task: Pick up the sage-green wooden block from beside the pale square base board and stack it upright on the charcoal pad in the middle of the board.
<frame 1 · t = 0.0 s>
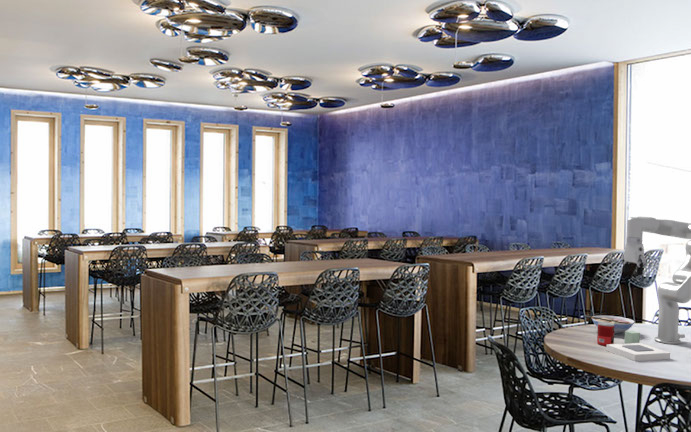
hand: (632, 273, 330), 37 cm above the table, tool pointing down, fingers open, 9 cm apart
canned food: (605, 344, 327), on the table
ramen bowl: (612, 332, 358), on the table
base board: (637, 354, 307), on the table
green block: (631, 345, 327), on the table
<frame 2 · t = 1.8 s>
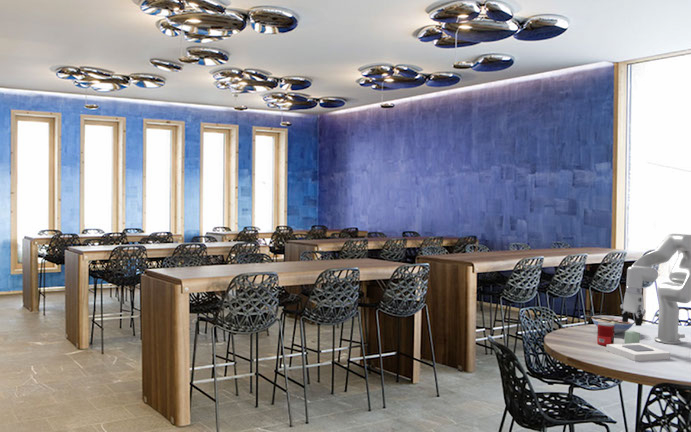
hand: (631, 323, 326), 11 cm above the table, tool pointing down, fingers open, 9 cm apart
nothing on the table moved.
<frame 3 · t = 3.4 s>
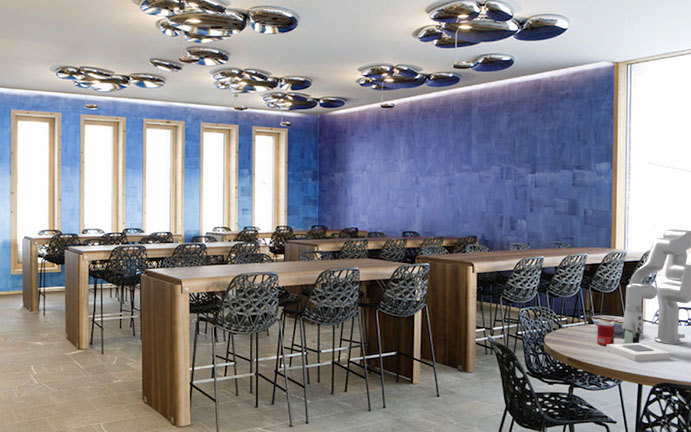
hand: (631, 343, 327), 1 cm above the table, tool pointing down, fingers closed on green block, 4 cm apart
green block: (631, 345, 327), on the table, touching gripper
everything else where it was.
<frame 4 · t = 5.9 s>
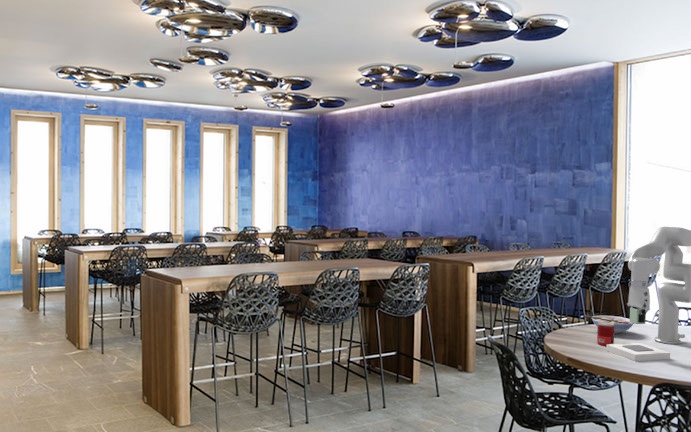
hand: (637, 320, 310), 16 cm above the table, tool pointing down, fingers closed on green block, 4 cm apart
green block: (637, 323, 310), point 15 cm above the table, touching gripper
everything else where it was.
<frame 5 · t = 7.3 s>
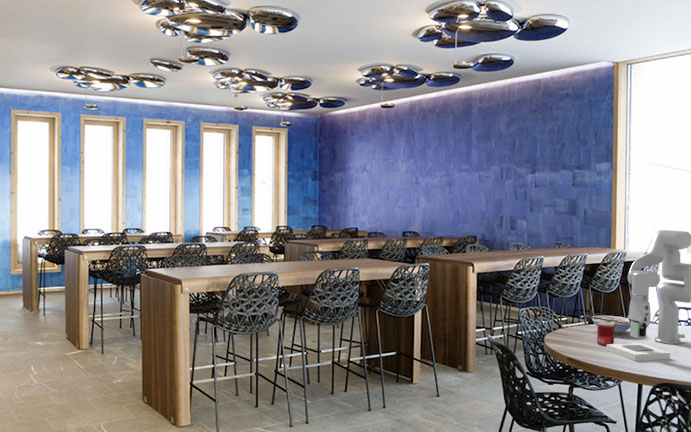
hand: (638, 334, 307), 10 cm above the table, tool pointing down, fingers closed on green block, 4 cm apart
green block: (637, 336, 307), point 9 cm above the table, touching gripper
everything else where it was.
when the fingers open (6 cm above the table, at t = 8.4 s): green block drops 1 cm, resting on base board.
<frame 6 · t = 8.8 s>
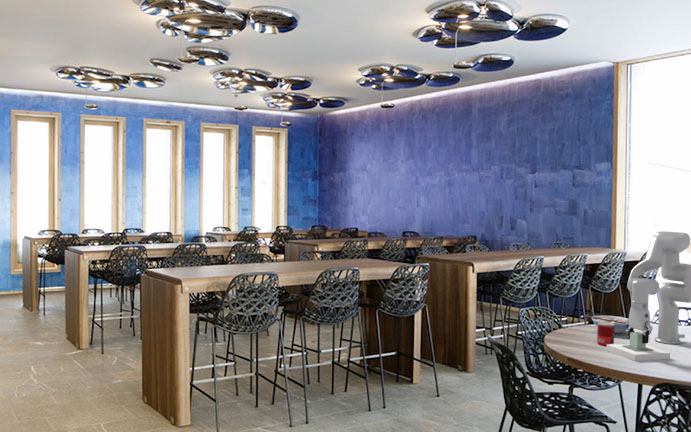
hand: (638, 340, 307), 7 cm above the table, tool pointing down, fingers open, 9 cm apart
green block: (637, 347, 307), point 3 cm above the table, touching base board
everything else where it was.
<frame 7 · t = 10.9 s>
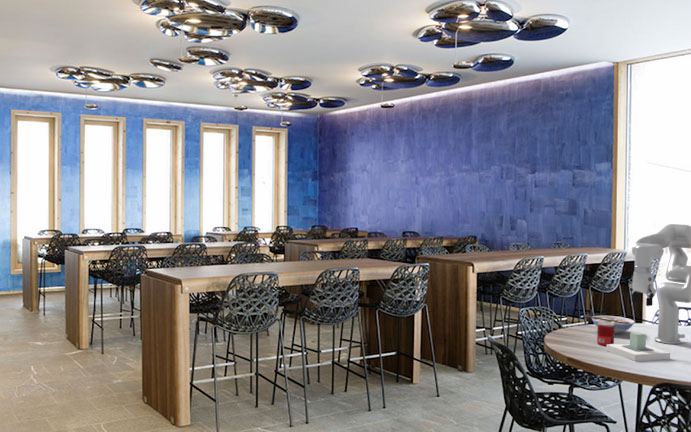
hand: (642, 303, 316), 23 cm above the table, tool pointing down, fingers open, 9 cm apart
nothing on the table moved.
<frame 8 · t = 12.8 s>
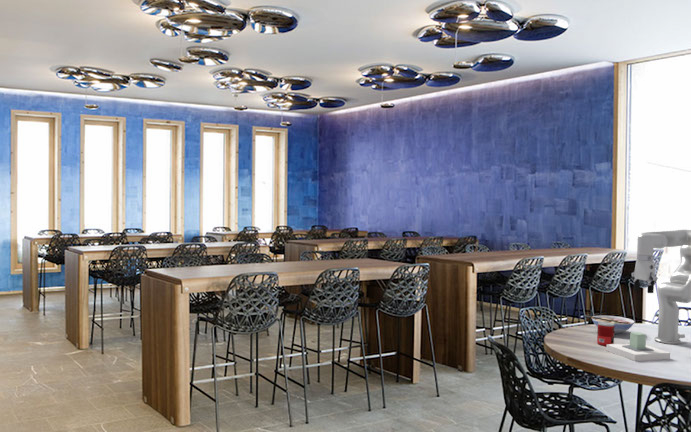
hand: (643, 291, 325), 28 cm above the table, tool pointing down, fingers open, 9 cm apart
nothing on the table moved.
at the end: green block inside the target area on the base board (0.1 cm from its centre), point 3.4 cm above the base board's base; green block tilted 0°; the gripper is holding nothing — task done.
